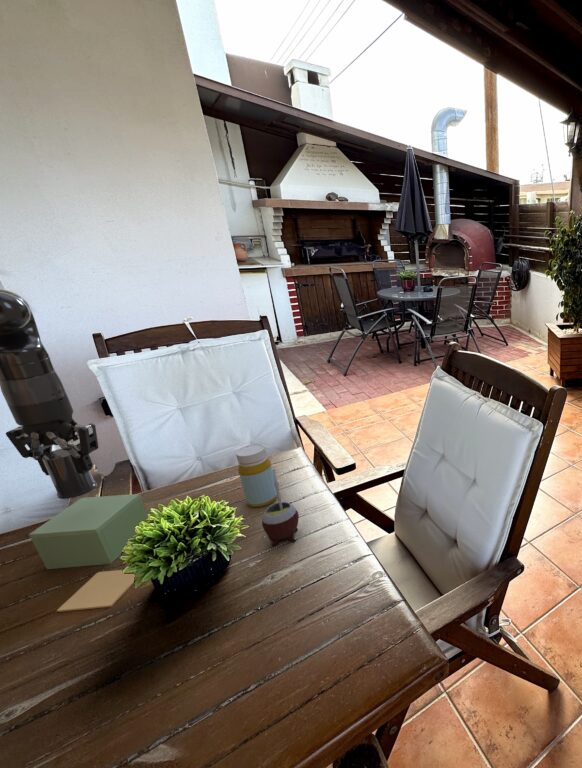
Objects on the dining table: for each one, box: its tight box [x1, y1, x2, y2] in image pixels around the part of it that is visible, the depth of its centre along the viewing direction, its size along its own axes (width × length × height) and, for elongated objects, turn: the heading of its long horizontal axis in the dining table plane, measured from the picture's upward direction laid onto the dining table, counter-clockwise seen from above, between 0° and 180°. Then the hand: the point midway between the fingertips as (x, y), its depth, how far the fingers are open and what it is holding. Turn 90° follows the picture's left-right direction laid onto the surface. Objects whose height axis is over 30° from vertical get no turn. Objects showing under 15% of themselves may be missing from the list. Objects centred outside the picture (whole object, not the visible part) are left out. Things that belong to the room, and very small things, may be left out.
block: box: [28, 493, 149, 570], centre depth 87 cm, size 12×12×9 cm
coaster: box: [56, 569, 135, 613], centre depth 78 cm, size 9×9×1 cm
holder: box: [42, 446, 98, 500], centre depth 82 cm, size 6×6×9 cm
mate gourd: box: [261, 468, 300, 548], centre depth 89 cm, size 8×8×15 cm
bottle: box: [235, 443, 278, 508], centre depth 101 cm, size 7×7×15 cm
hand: (70, 472), depth 82 cm, fingers closed on holder, 5 cm apart
